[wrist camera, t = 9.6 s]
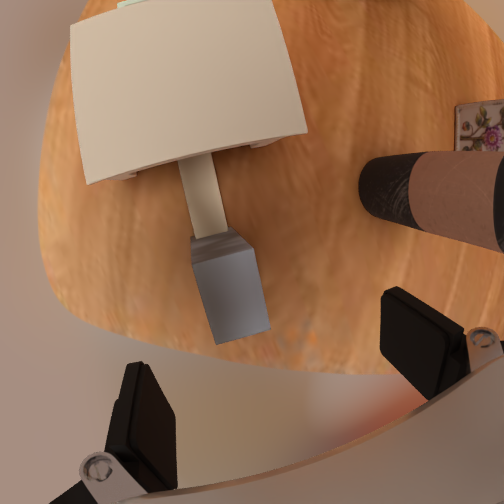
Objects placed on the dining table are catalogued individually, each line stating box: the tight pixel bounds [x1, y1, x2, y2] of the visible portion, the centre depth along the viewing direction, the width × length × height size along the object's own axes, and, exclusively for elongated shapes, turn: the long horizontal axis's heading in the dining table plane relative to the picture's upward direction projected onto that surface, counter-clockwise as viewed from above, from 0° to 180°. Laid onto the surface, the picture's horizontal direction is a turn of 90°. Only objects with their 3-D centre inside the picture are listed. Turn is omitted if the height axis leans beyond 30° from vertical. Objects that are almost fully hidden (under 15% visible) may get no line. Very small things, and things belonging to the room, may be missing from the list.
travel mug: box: [359, 151, 504, 254], centre depth 21 cm, size 8×8×20 cm
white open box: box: [70, 0, 308, 185], centre depth 20 cm, size 15×13×10 cm
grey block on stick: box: [177, 152, 271, 345], centre depth 22 cm, size 4×22×10 cm, turn 12°
